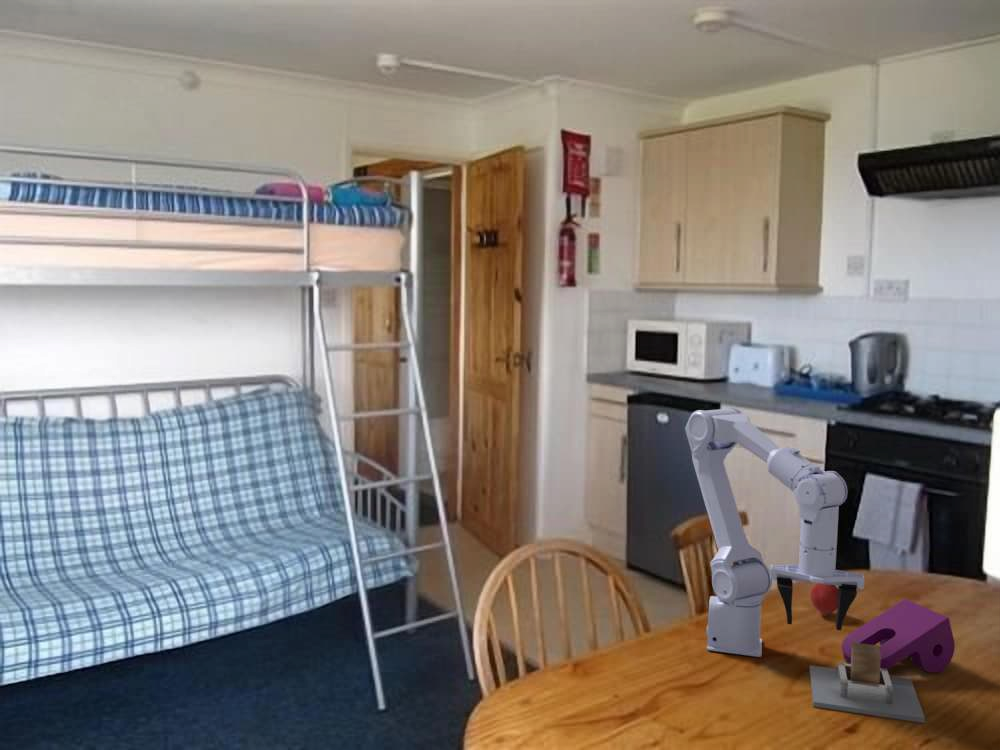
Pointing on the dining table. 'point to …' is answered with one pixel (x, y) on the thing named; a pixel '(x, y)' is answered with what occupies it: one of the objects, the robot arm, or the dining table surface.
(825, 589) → the onion
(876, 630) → the mounting bracket
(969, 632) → the dining table surface
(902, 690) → the socket board
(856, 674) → the walnut peg
